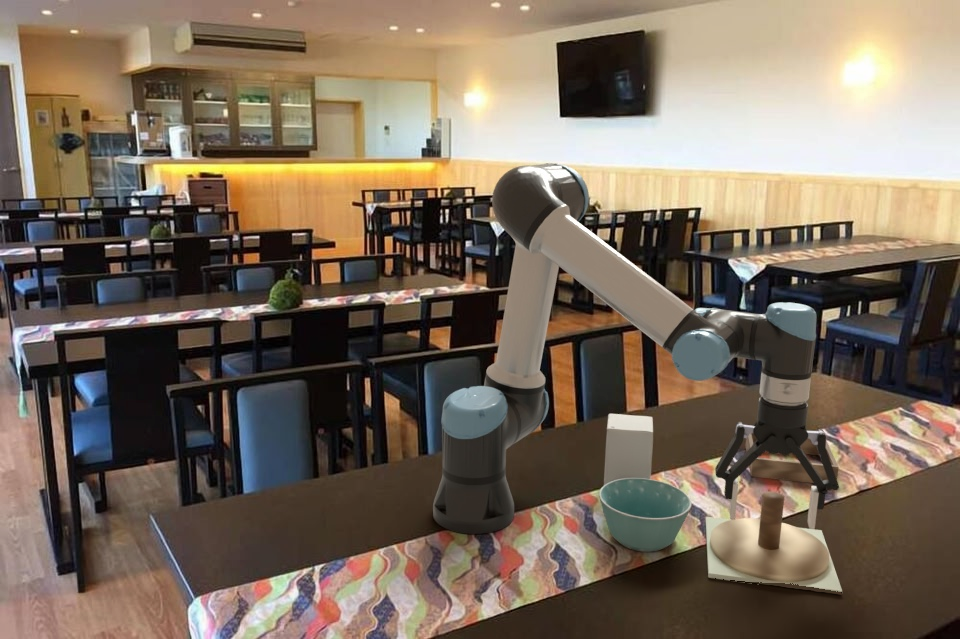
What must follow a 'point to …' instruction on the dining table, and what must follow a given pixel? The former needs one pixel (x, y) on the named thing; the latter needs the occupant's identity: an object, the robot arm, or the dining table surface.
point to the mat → (727, 573)
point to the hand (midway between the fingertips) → (771, 520)
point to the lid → (769, 545)
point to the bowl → (644, 512)
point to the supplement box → (628, 447)
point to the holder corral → (788, 464)
